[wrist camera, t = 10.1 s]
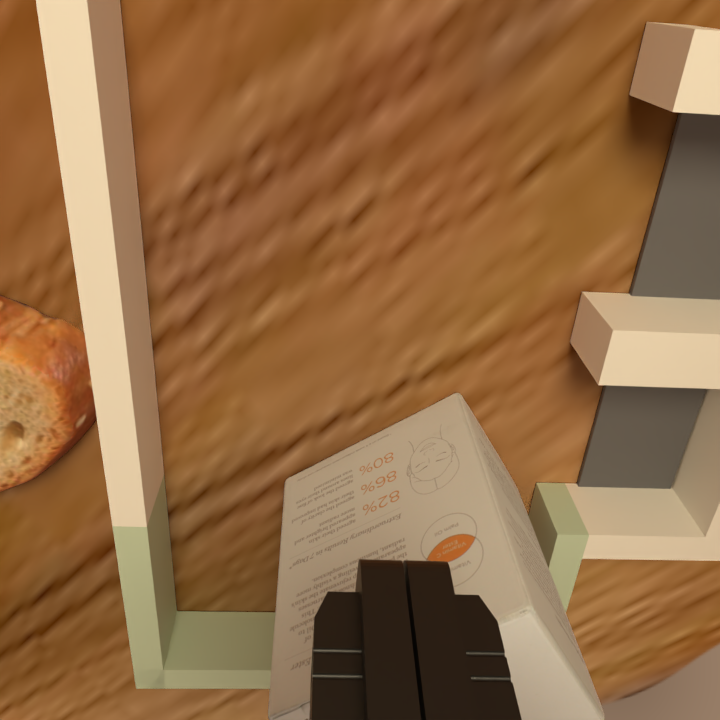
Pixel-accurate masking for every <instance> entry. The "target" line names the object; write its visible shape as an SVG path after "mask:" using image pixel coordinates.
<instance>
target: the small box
mask: <svg viewBox="0 0 720 720" xmlns="http://www.w3.org/2000/svg"><path fill="white" fill-rule="evenodd" d="M359 559H372V560H402V563H403V562H404V560H415V561H446V562H448V564H449V567H450V571H451V576H452V582H453V587H454V592H455V594H460V595H479V596H480V597H481V599H482V600H483V602H484V603H485V604H486V606H487V607H488V609H489V610H490V611H491V613H492V614H493V616H494V617H495V618H496V620H497V621H498V625H499V629H500V634H501V638H502V642H503V646H504V650H505V657H506V658H507V662H508V666H509V670H510V674H511V683H513V686H514V690H515V694H516V698H517V702H518V706H519V710H520V715H521V719H522V720H605V716H604V711H603V709H602V706H601V703H600V701H599V698H598V696H597V693H596V690H595V688H594V685H593V683H592V680H591V677H590V675H589V672H588V670H587V667H586V664H585V662H584V659H583V657H582V654H581V652H580V649H579V646H578V644H577V641H576V639H575V636H574V633H573V631H572V628H571V626H570V623H569V620H568V618H567V615H566V612H565V610H564V607H563V604H562V602H561V599H560V596H559V593H558V591H557V588H556V585H555V583H554V580H553V578H552V576H551V573H550V571H549V568H548V566H547V563H546V561H545V558H544V555H543V553H542V550H541V548H540V545H539V542H538V540H537V537H536V534H535V532H534V529H533V526H532V524H531V521H530V519H529V516H528V514H527V511H526V509H525V506H524V504H523V501H522V499H521V496H520V494H519V491H518V489H517V487H516V485H515V483H514V481H513V479H512V478H511V476H510V474H509V472H508V471H507V469H506V467H505V466H504V464H503V462H502V460H501V459H500V457H499V455H498V454H497V452H496V451H495V449H494V447H493V446H492V444H491V442H490V441H489V439H488V437H487V436H486V434H485V432H484V431H483V429H482V427H481V426H480V424H479V422H478V421H477V419H476V417H475V416H474V414H473V413H472V411H471V409H470V408H469V406H468V405H467V403H466V402H465V400H464V398H463V396H462V395H461V394H460V393H454V394H452V395H450V396H448V397H447V398H445V399H443V400H441V401H439V402H437V403H435V404H433V405H431V406H429V407H427V408H425V409H423V410H421V411H419V412H417V413H415V414H413V415H411V416H410V417H408V418H406V419H404V420H402V421H400V422H398V423H396V424H394V425H392V426H390V427H388V428H386V429H384V430H382V431H380V432H378V433H376V434H374V435H372V436H370V437H368V438H366V439H364V440H362V441H360V442H358V443H356V444H354V445H352V446H350V447H348V448H346V449H344V450H342V451H340V452H338V453H337V454H335V455H333V456H331V457H329V458H327V459H325V460H323V461H321V462H319V463H317V464H315V465H313V466H311V467H309V468H307V469H305V470H303V471H301V472H299V473H297V474H295V475H293V476H291V477H289V478H288V479H286V481H285V486H284V500H283V515H282V529H281V543H280V558H279V571H278V585H277V600H276V614H275V624H274V638H273V650H272V665H271V679H270V694H269V706H268V718H269V720H309V714H310V682H311V663H312V647H313V631H314V617H315V615H316V613H317V611H318V609H319V607H320V605H321V603H322V602H323V600H324V598H325V596H326V594H327V592H328V591H332V592H355V588H356V579H357V569H358V562H359Z"/></svg>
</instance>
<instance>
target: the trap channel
mask: <svg viewBox="0 0 720 720" xmlns="http://www.w3.org/2000/svg"><path fill="white" fill-rule="evenodd" d="M36 5H37V11H38V18H39V25H40V32H41V39H42V46H43V53H44V59H45V66H46V73H47V80H48V87H49V94H50V101H51V108H52V114H53V121H54V128H55V135H56V142H57V149H58V156H59V162H60V169H61V176H62V183H63V190H64V197H65V204H66V210H67V217H68V224H69V231H70V238H71V245H72V252H73V258H74V265H75V272H76V279H77V286H78V293H79V300H80V307H81V313H82V320H83V327H84V334H85V341H86V348H87V355H88V361H89V368H90V375H91V382H92V389H93V396H94V403H95V409H96V416H97V423H98V430H99V437H100V444H101V451H102V457H103V464H104V471H105V478H106V485H107V492H108V499H109V506H110V512H111V519H112V526H113V533H114V540H115V547H116V554H117V560H118V567H119V574H120V581H121V588H122V595H123V602H124V608H125V615H126V622H127V629H128V636H129V643H130V650H131V656H132V663H133V670H134V677H135V684H136V689H270V679H271V665H272V650H273V638H274V624H275V614H276V612H202V611H177V606H176V596H175V585H174V574H173V563H172V553H171V542H170V531H169V520H168V510H167V499H166V488H165V477H164V467H163V456H162V445H161V434H160V424H159V413H158V402H157V391H156V381H155V370H154V359H153V348H152V338H151V327H150V316H149V305H148V295H147V284H146V273H145V262H144V252H143V241H142V230H141V219H140V209H139V198H138V187H137V176H136V166H135V155H134V144H133V133H132V123H131V112H130V101H129V90H128V80H127V69H126V58H125V47H124V37H123V26H122V15H121V4H120V0H36ZM629 95H631V96H633V97H636V98H638V99H641V100H643V101H646V102H648V103H651V104H653V105H656V106H658V107H661V108H663V109H666V110H669V111H671V112H679V115H678V119H677V122H676V126H675V130H674V133H673V137H672V140H671V144H670V148H669V151H668V155H667V159H666V162H665V166H664V169H663V173H662V177H661V180H660V184H659V187H658V191H657V195H656V198H655V202H654V206H653V209H652V213H651V216H650V220H649V224H648V227H647V231H646V235H645V238H644V242H643V245H642V249H641V253H640V256H639V260H638V264H637V267H636V271H635V274H634V278H633V282H632V285H631V289H630V293H629V294H624V293H601V292H582V294H581V298H580V302H579V306H578V311H577V315H576V319H575V323H574V327H573V331H572V336H571V340H570V343H571V345H572V346H573V348H574V349H575V351H576V352H577V354H578V355H579V357H580V358H581V360H582V361H583V363H584V364H585V366H586V367H587V369H588V370H589V372H590V373H591V375H592V376H593V378H594V379H595V381H596V382H597V384H598V385H604V387H603V390H602V394H601V398H600V401H599V405H598V408H597V412H596V416H595V419H594V423H593V427H592V430H591V434H590V437H589V441H588V445H587V448H586V452H585V456H584V459H583V463H582V466H581V470H580V474H579V477H578V481H577V484H573V483H536V486H535V490H534V494H533V498H532V503H531V507H530V511H529V515H528V516H529V519H530V521H531V524H532V526H533V529H534V532H535V534H536V537H537V540H538V542H539V545H540V548H541V550H542V553H543V555H544V558H545V561H546V563H547V566H548V568H549V571H550V573H551V576H552V578H553V580H554V583H555V585H556V588H557V591H558V593H559V596H560V599H561V602H562V604H563V607H564V610H565V612H566V611H567V607H568V604H569V601H570V597H571V594H572V591H573V587H574V584H575V581H576V577H577V574H578V571H579V567H580V564H581V561H582V559H635V560H697V561H720V29H714V28H706V27H699V26H692V25H683V24H669V23H655V22H647V23H646V27H645V31H644V35H643V39H642V43H641V48H640V52H639V56H638V60H637V64H636V69H635V73H634V77H633V81H632V85H631V89H630V94H629Z"/></svg>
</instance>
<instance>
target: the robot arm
mask: <svg viewBox="0 0 720 720" xmlns="http://www.w3.org/2000/svg"><path fill="white" fill-rule="evenodd" d="M309 720H522V719H521V715H520V710H519V706H518V702H517V698H516V694H515V690H514V686H513V683H511V674H510V670H509V666H508V662H507V658H506V657H505V650H504V646H503V642H502V638H501V634H500V629H499V625H498V621H497V620H496V618H495V617H494V616H493V614H492V613H491V611H490V610H489V609H488V607H487V606H486V604H485V603H484V602H483V600H482V599H481V597H480V596H479V595H460V594H455V592H454V587H453V582H452V576H451V571H450V567H449V564H448V562H446V561H415V560H404V562H403V563H402V560H372V559H359V562H358V569H357V579H356V588H355V592H332V591H328V592H327V594H326V596H325V598H324V600H323V602H322V603H321V605H320V607H319V609H318V611H317V613H316V615H315V617H314V631H313V647H312V663H311V682H310V714H309Z"/></svg>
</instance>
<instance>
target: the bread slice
mask: <svg viewBox="0 0 720 720" xmlns="http://www.w3.org/2000/svg"><path fill="white" fill-rule="evenodd" d="M96 419H97V416H96V409H95V403H94V396H93V389H92V382H91V375H90V368H89V361H88V355H87V348H86V341H85V334H84V332H82V331H81V330H79V329H77V328H76V327H74V326H73V325H71V324H70V323H68V322H66V321H64V320H61V319H58V318H53V317H50V316H47V315H44V314H42V313H41V312H39V311H37V310H36V309H34V308H32V307H30V306H28V305H25V304H23V303H21V302H18V301H15V300H12V299H10V298H7V297H4V296H2V295H0V492H1V491H4V490H7V489H10V488H12V487H15V486H17V485H20V484H23V483H25V482H28V481H30V480H32V479H34V478H35V477H37V476H38V475H40V474H41V473H42V472H44V471H45V470H46V469H48V468H49V467H50V466H51V465H53V464H54V463H55V462H56V461H58V460H59V459H60V458H61V457H62V456H63V455H64V454H65V453H66V452H68V451H69V450H70V449H71V448H72V447H73V446H74V445H75V444H76V443H77V442H78V441H79V440H80V439H81V437H82V436H83V435H84V434H85V433H86V432H87V431H88V429H89V428H90V427H91V426H92V425H93V423H94V422H95V420H96Z"/></svg>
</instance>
